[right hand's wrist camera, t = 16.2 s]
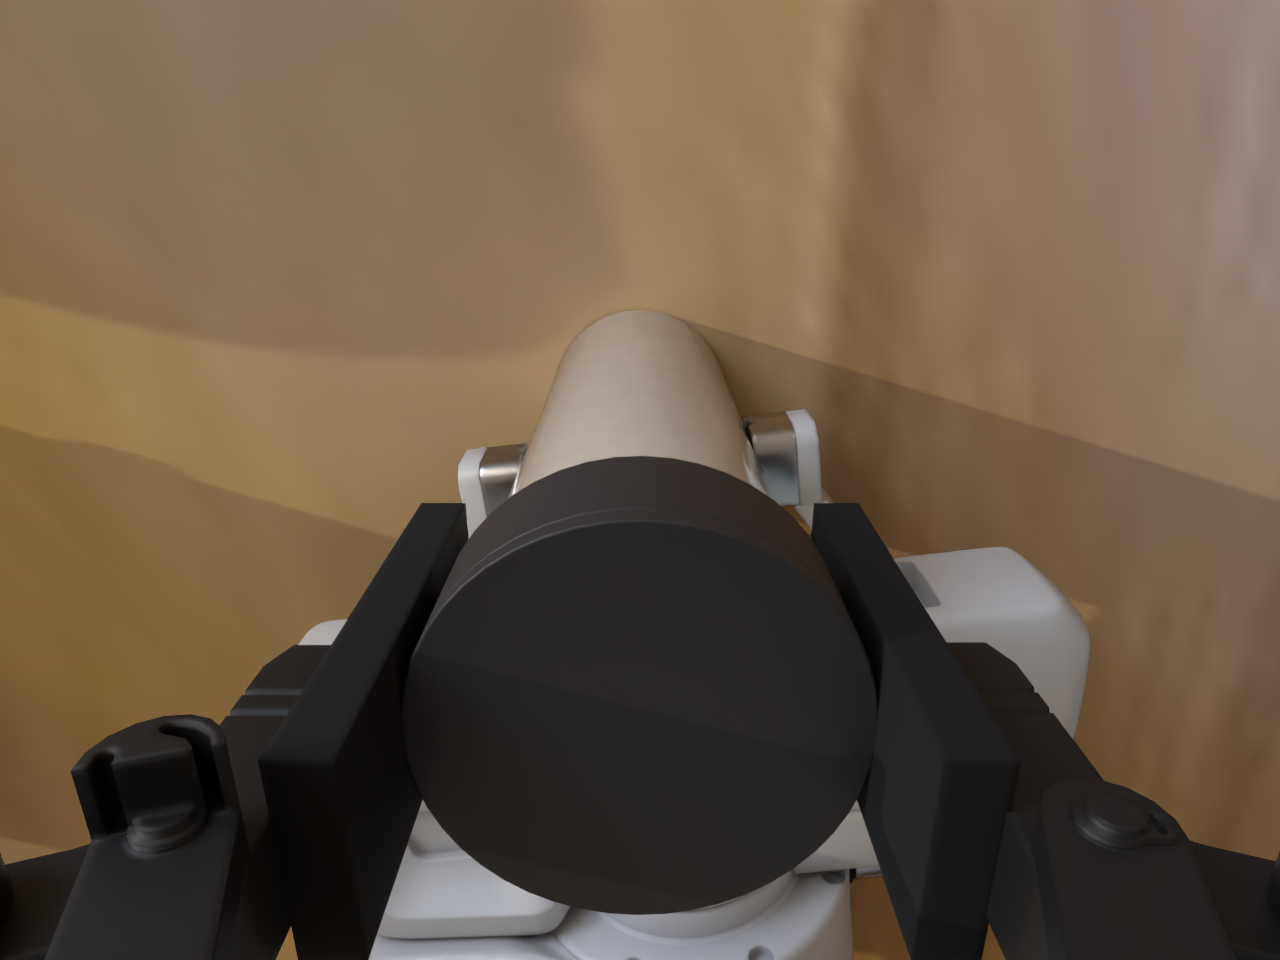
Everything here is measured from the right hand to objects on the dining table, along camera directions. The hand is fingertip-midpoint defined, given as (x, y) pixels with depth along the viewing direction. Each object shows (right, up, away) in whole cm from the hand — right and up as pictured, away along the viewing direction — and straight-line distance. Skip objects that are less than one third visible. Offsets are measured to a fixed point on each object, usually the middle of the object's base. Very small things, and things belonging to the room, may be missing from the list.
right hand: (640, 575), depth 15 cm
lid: (0, -1, -4) cm, 4 cm away
